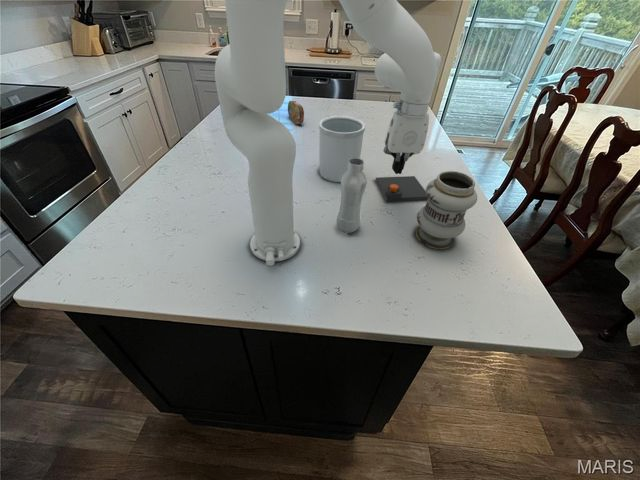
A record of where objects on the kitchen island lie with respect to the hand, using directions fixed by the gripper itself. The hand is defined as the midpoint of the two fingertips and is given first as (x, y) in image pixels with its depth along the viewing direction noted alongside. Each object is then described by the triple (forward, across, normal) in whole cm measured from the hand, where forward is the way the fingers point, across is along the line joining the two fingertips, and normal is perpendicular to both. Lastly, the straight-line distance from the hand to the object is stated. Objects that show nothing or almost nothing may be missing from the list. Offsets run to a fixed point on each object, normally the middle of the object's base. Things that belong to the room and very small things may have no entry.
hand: (396, 171), depth 88 cm
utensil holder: (+10, -14, +17) cm, 24 cm away
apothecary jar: (+10, +6, -20) cm, 23 cm away
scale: (+9, +5, +4) cm, 11 cm away
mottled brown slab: (+9, -25, +68) cm, 73 cm away
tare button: (+7, +1, 0) cm, 7 cm away
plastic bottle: (+10, -17, -14) cm, 24 cm away
